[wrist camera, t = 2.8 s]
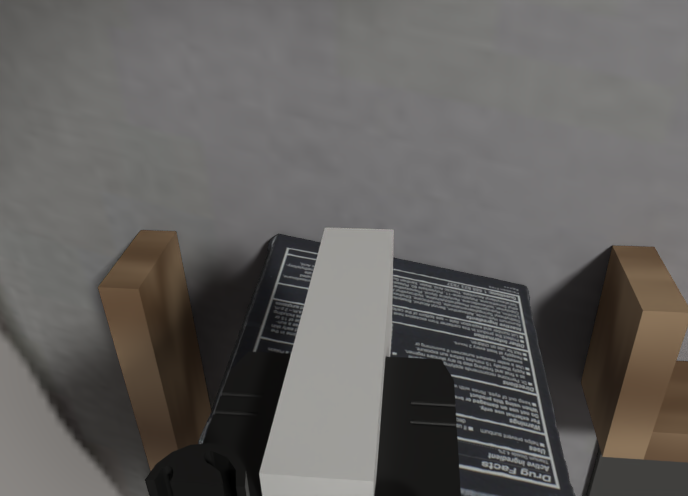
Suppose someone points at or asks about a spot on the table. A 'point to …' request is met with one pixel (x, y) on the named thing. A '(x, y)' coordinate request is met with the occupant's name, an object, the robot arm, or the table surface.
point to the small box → (455, 352)
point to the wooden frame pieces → (597, 381)
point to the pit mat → (638, 477)
